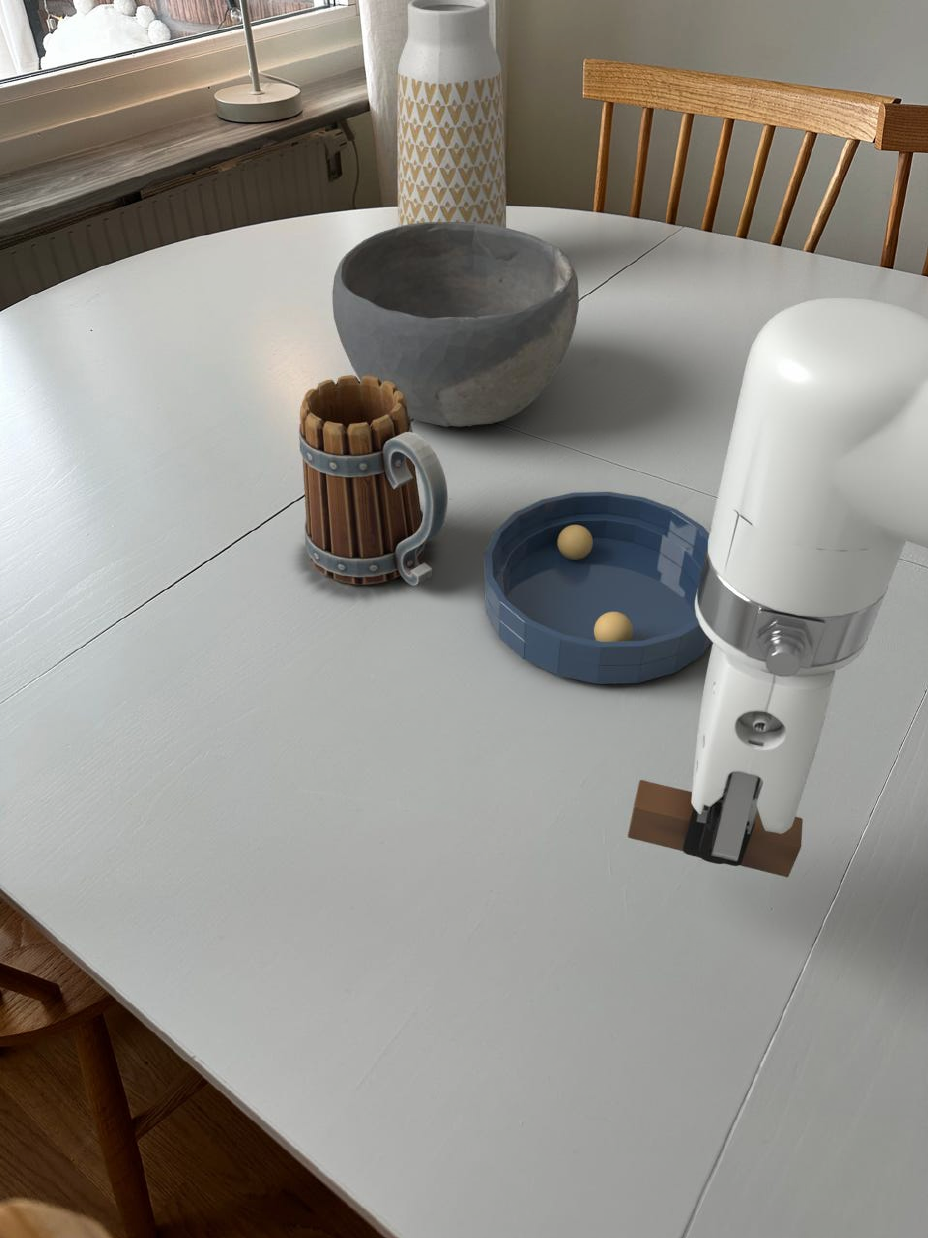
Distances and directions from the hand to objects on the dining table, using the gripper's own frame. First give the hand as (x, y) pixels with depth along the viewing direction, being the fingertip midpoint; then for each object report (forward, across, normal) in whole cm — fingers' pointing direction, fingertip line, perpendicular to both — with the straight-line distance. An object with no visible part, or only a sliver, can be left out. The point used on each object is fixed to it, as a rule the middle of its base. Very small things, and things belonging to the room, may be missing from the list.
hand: (714, 834), depth 55 cm
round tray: (+8, +26, +11) cm, 29 cm away
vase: (+8, +85, +42) cm, 95 cm away
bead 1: (+6, +31, +14) cm, 34 cm away
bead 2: (+6, +21, +9) cm, 23 cm away
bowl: (+8, +54, +32) cm, 63 cm away
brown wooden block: (+1, 0, 0) cm, 1 cm away
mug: (+8, +26, +30) cm, 40 cm away
